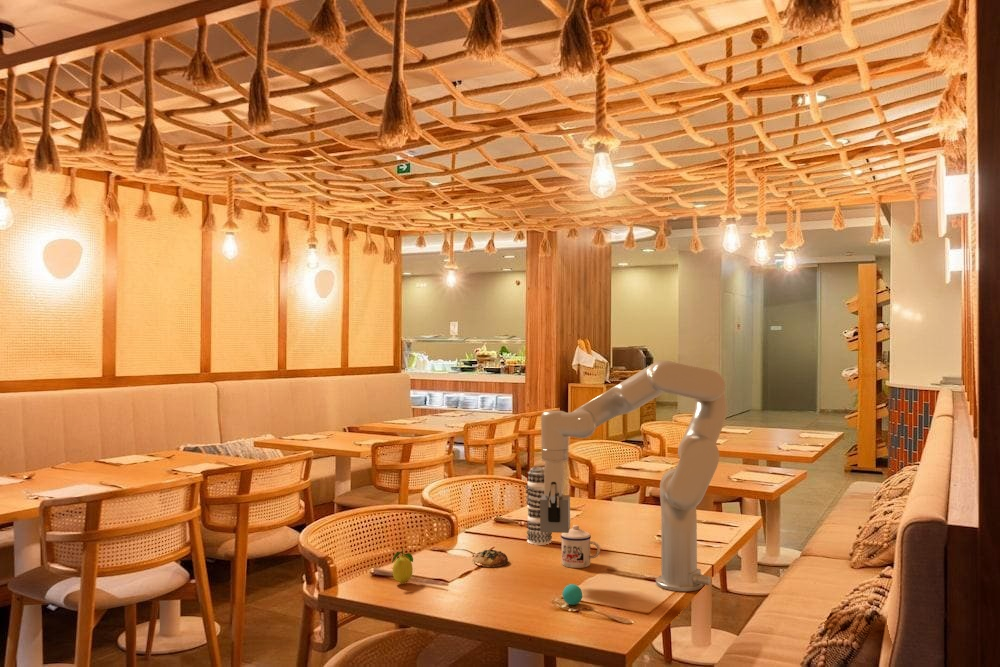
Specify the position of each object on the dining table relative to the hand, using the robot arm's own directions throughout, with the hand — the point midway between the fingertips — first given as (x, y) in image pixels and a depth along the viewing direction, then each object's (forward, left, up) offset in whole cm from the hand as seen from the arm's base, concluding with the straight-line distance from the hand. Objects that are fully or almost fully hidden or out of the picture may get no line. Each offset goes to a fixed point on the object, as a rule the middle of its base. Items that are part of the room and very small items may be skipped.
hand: (555, 518), depth 208 cm
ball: (-14, +13, -15) cm, 24 cm away
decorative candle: (+30, -34, -18) cm, 49 cm away
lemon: (+32, +28, -18) cm, 46 cm away
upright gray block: (0, 0, -3) cm, 3 cm away
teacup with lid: (+4, -19, -18) cm, 27 cm away
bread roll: (+27, -4, -18) cm, 33 cm away
